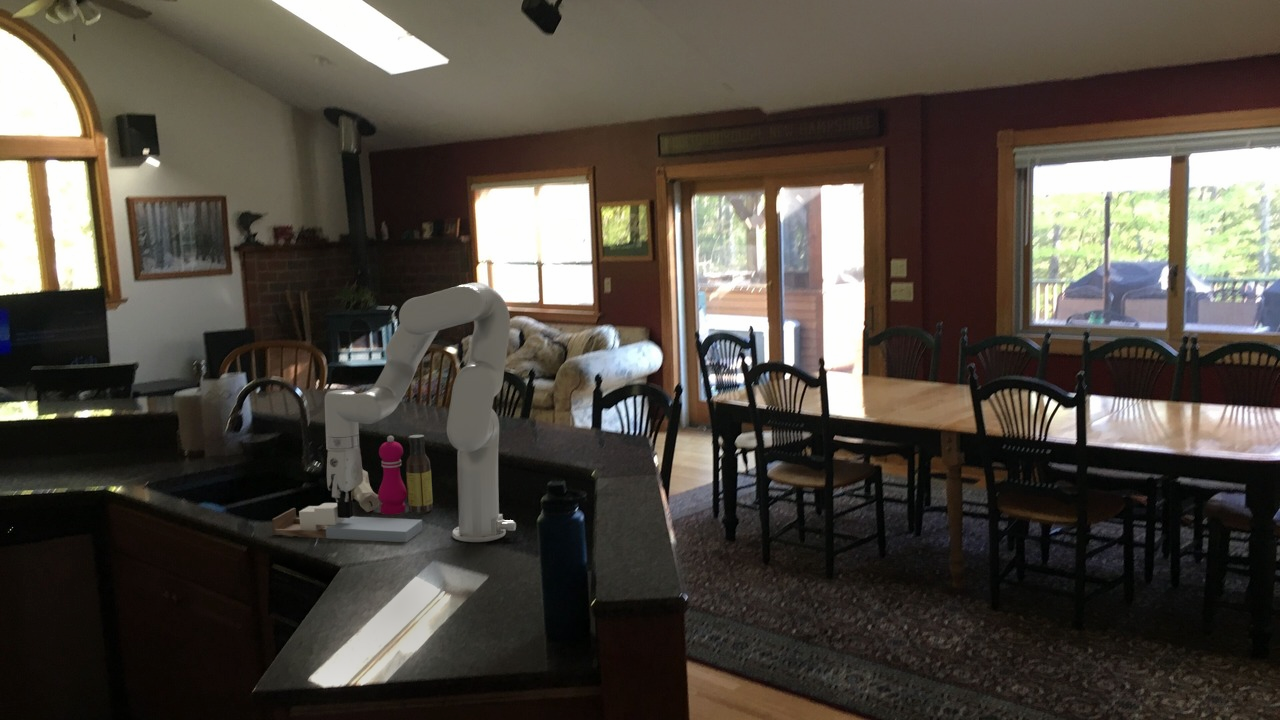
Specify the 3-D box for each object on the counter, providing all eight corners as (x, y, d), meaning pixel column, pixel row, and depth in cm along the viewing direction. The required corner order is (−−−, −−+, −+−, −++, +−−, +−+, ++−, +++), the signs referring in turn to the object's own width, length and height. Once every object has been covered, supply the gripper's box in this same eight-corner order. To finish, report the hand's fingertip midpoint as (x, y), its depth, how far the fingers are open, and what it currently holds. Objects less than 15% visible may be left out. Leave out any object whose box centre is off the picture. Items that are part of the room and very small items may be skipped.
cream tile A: (344, 518, 239) (343, 502, 239) (335, 524, 234) (333, 508, 234) (325, 518, 240) (324, 502, 239) (315, 524, 235) (314, 508, 235)
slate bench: (422, 529, 239) (422, 519, 238) (406, 542, 229) (406, 531, 229) (345, 526, 242) (345, 516, 242) (326, 538, 232) (325, 527, 232)
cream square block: (324, 506, 240) (309, 506, 240) (314, 511, 235) (298, 511, 235) (326, 526, 240) (310, 525, 241) (316, 531, 235) (300, 531, 236)
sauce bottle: (430, 506, 260) (428, 432, 257) (434, 512, 254) (432, 437, 251) (406, 508, 257) (403, 434, 255) (409, 515, 252) (406, 438, 249)
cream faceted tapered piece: (370, 487, 277) (393, 513, 255) (341, 498, 273) (361, 526, 251) (361, 459, 274) (383, 482, 252) (331, 470, 271) (350, 495, 249)
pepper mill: (398, 516, 250) (395, 439, 248) (373, 514, 252) (370, 437, 250) (412, 508, 257) (410, 433, 255) (388, 506, 259) (385, 432, 257)
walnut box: (345, 526, 242) (344, 510, 241) (326, 538, 232) (325, 521, 232) (294, 523, 244) (293, 507, 244) (272, 535, 234) (272, 519, 234)
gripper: (343, 449, 226) (346, 526, 228) (370, 436, 241) (373, 509, 243) (312, 448, 227) (315, 525, 229) (342, 435, 242) (344, 508, 244)
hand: (345, 516), depth 236 cm, fingers closed
